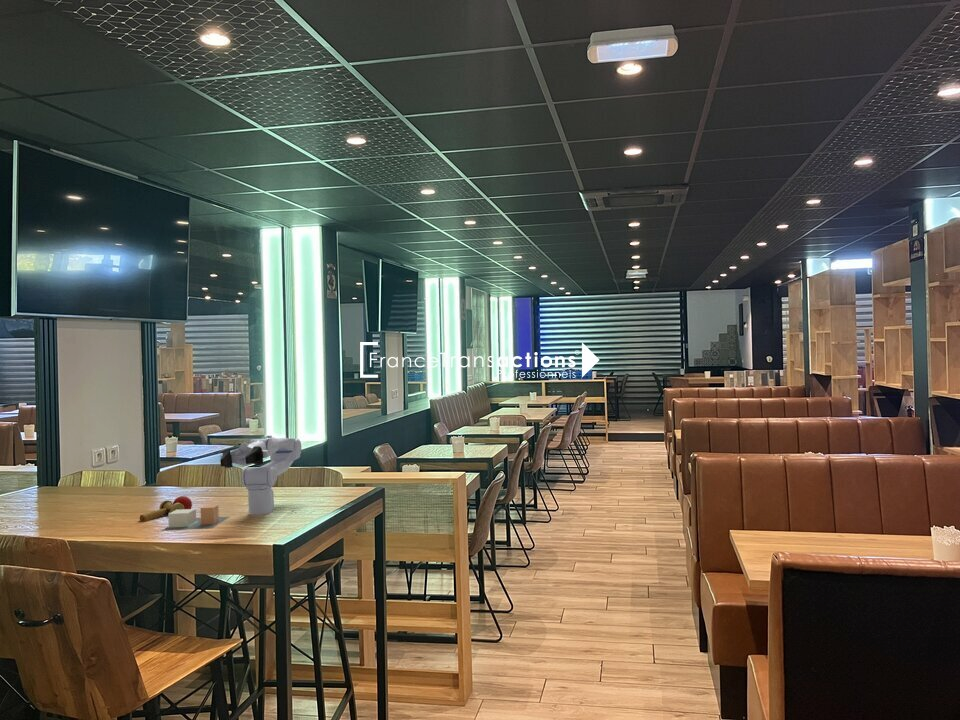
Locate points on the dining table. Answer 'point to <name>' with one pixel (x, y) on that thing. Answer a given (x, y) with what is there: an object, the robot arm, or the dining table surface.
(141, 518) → the kendama
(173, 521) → the base block
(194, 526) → the grey flat plate
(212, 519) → the terracotta block
